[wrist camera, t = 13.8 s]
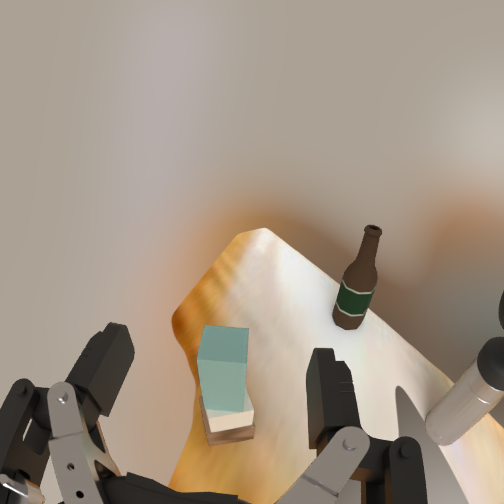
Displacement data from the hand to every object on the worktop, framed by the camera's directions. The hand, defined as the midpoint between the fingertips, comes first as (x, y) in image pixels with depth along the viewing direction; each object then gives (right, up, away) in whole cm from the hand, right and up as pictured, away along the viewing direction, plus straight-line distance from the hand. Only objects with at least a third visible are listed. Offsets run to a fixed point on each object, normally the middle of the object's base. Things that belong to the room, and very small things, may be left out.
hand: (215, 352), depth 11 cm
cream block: (-2, -19, +25) cm, 32 cm away
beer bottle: (+24, -12, +51) cm, 58 cm away
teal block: (-2, -15, +22) cm, 27 cm away
